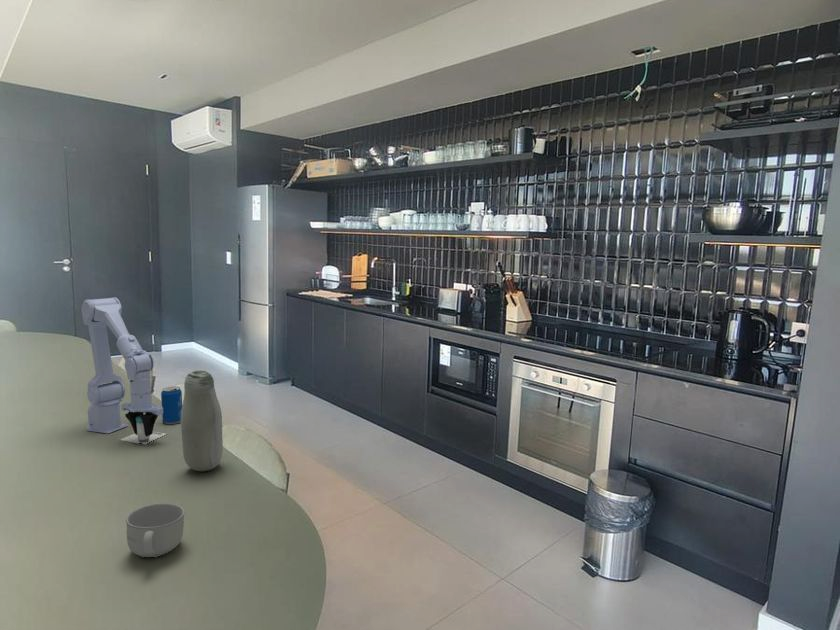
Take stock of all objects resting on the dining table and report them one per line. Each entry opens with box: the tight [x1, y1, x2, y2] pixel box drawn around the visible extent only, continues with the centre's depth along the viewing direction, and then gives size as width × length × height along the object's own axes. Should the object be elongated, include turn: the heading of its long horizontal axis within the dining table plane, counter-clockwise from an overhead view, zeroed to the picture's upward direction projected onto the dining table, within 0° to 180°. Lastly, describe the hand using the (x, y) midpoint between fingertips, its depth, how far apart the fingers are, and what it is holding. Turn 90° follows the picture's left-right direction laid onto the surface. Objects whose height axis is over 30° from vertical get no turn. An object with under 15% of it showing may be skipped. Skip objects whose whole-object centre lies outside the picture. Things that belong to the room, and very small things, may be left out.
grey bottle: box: [180, 370, 224, 472], centre depth 149 cm, size 10×10×28 cm
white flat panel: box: [120, 431, 167, 445], centre depth 174 cm, size 10×9×1 cm
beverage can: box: [160, 386, 183, 425], centre depth 188 cm, size 6×6×12 cm
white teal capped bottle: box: [136, 415, 150, 443], centre depth 169 cm, size 4×4×8 cm
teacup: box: [125, 502, 185, 558], centre depth 110 cm, size 14×11×8 cm
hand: (143, 434), depth 170 cm, fingers closed on white teal capped bottle, 3 cm apart
